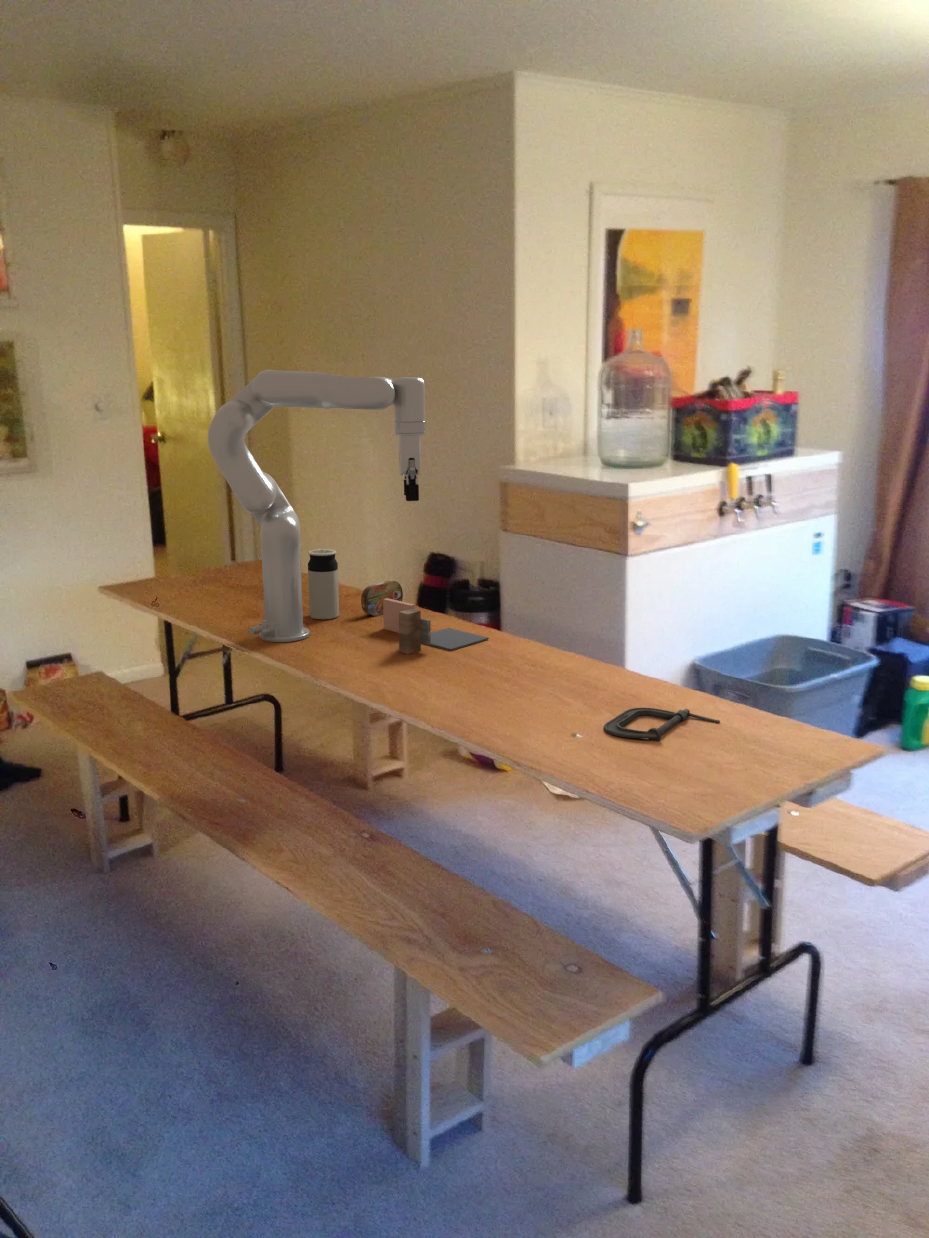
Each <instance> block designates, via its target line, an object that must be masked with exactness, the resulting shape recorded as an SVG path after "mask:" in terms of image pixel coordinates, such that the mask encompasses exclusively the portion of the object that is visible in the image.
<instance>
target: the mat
mask: <svg viewBox="0 0 929 1238" xmlns="http://www.w3.org/2000/svg"><path fill="white" fill-rule="evenodd" d="M488 639H489V640H490V637H487V636H483V635H480V634H475V633H470V632H467V631H463V630H458V629H456V628H455V629H454V628H451V627H446V628H443V629H439V630H436V631H431V644H429V645H427V644H425V645H426V646H431V647H435V648H437V649H438V648H439V649H441V650H446V651H450V652H452V651H453V652H454V651H455V650H459V649H462V648H466V647H469V646H472V645H475V644H479V643H481V642H482V641H483V642H486V641H489V640H488ZM485 640H486V641H485ZM421 645H424V644H423V643H421Z"/></svg>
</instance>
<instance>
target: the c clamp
mask: <svg viewBox="0 0 929 1238" xmlns="http://www.w3.org/2000/svg"><path fill="white" fill-rule="evenodd" d="M640 717H651V718H658V719H662V720H667V721H666V722H664V723H663V724H662V725H660V726H659V727H657V728H656V727H651V728H649V729H648V730H646V731H645V730H638V729H634V728H633V729H632V728H626V727H625V726H627V725H629V724H630V723H631V722H633V721H634V720H636V719H637V718H640ZM688 717H690V718H693V719H694V718H695V719H698V720H701V719H702V721H705V720H706V722H709V721H711V722H710V723H714V722H715V723H714V724H718V723H719V724H720V723H721V720H719V719H715V718H714V719H713V718H710V717H706V716H702V715H698V714H695V713H692V712H690V709H688V708H684V709H683V710H682V709H679V710H678V711H677V712H675V711H671V710H666V709H659V708H654V707H635V708H628V709H627V710H625V711H623V712H621V713H620V714H618V715H617V716H615V717H613V718H612V719H611V720H609V721H608V722H606V723H605V724H604V725H603V730H604V731H605V732H606V734H609V735H613V736H615V737H622V738H631V739H645V740H646V739H648V740H650V741H655V742H660V741H661V739H662V735H663V734H664V733H665V732H667V731H668V730H670V729H671V728H673V727H674V726H675V725H677V724H678V723H683V722H685V721H686V720H687V719H688Z"/></svg>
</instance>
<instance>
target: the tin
mask: <svg viewBox="0 0 929 1238" xmlns="http://www.w3.org/2000/svg"><path fill="white" fill-rule="evenodd" d="M386 598H389V599H393V600H398V601H402V602H403V598H404V592H403V588H402V585H401V584H400V583H399V582H398V581H396V580H386V581H382V582H378V583H376V584H375V583H374V584H371V585H368V586H366V587H365V588H364V589H363V592H362V593H361V596H360V602H361V608H362V611H363V613H364V614H366V615H369V616H374V617H378V616H381V615H382V616H383V599H386Z"/></svg>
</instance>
